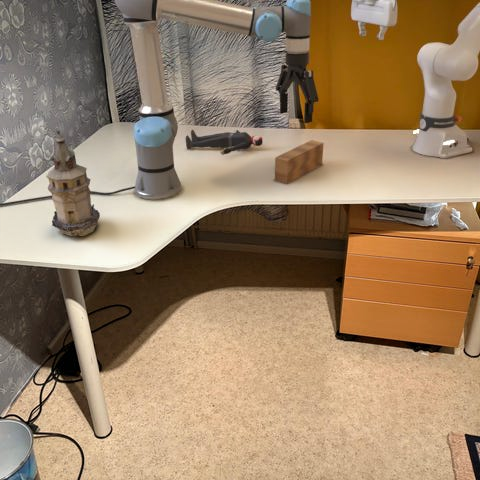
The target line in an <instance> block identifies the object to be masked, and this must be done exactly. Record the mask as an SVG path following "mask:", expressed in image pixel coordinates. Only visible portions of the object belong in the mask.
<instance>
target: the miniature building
mask: <svg viewBox="0 0 480 480" xmlns="http://www.w3.org/2000/svg"><path fill="white" fill-rule="evenodd" d="M56 134H57V136H56V138H55V140H54V141H55V142H56V147H55V154H54V156H52V157H51V161H52V162H53V165H54V167H53V168H51V169H50V170H49V171H48V173H47V174H46V178H47V179H48V182H49V184H48V186H47V190H48V191H49V193H50V194H51V195H52V198H51V200H52V201H53V205H54V209H55V211H53V217H52V220H51V223H52V225H51V227H54V228H56V229H58V230H59V231H60V234H63V235H64V234H65V235H66V236H69V237H77V236H80V237H83V236H87V235H88V234H90V233H93V232H94V231H95V229H96V226H97V225H98V223H99V220H100V216H101V213H100V212H99V210H98V209H96V208H95V204H92V201H91V200H92V199H91V198H92V197H91V193H90V192H91V191H92V190H91V188H90V184H91V178H89V177H88V174H87V167H85V166H84V165H83V166H82V165H80V164H77V160H76V154H75V151H74V150H70V149H69V147H68V145H67V143H66V138H65V137H64V136H63V135H61V130H60V129H56Z"/></svg>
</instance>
